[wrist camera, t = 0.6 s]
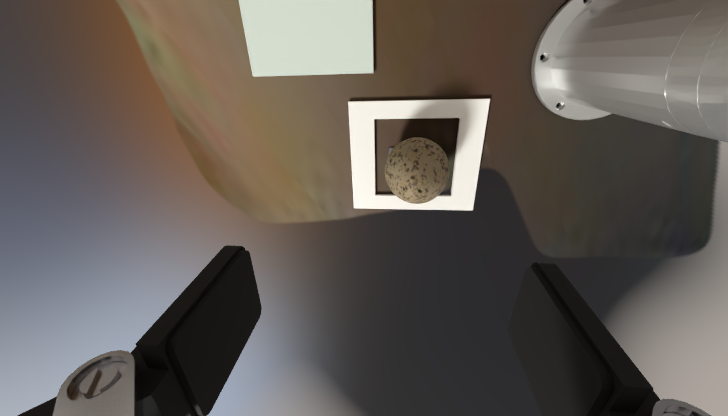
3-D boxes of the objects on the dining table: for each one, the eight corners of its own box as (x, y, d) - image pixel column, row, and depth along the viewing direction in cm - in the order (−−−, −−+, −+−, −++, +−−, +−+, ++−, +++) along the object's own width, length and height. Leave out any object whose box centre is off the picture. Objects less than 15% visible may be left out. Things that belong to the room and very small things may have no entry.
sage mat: (371, -97, 27) (370, -100, 26) (373, 72, 33) (373, 73, 32) (226, -84, 28) (222, -86, 28) (255, 76, 34) (252, 76, 34)
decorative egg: (415, 195, 39) (420, 234, 30) (374, 161, 38) (367, 193, 29) (455, 155, 36) (474, 187, 27) (413, 117, 35) (418, 137, 26)
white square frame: (488, 98, 33) (490, 99, 33) (472, 208, 39) (472, 210, 39) (348, 101, 35) (348, 101, 34) (354, 206, 41) (353, 208, 41)
